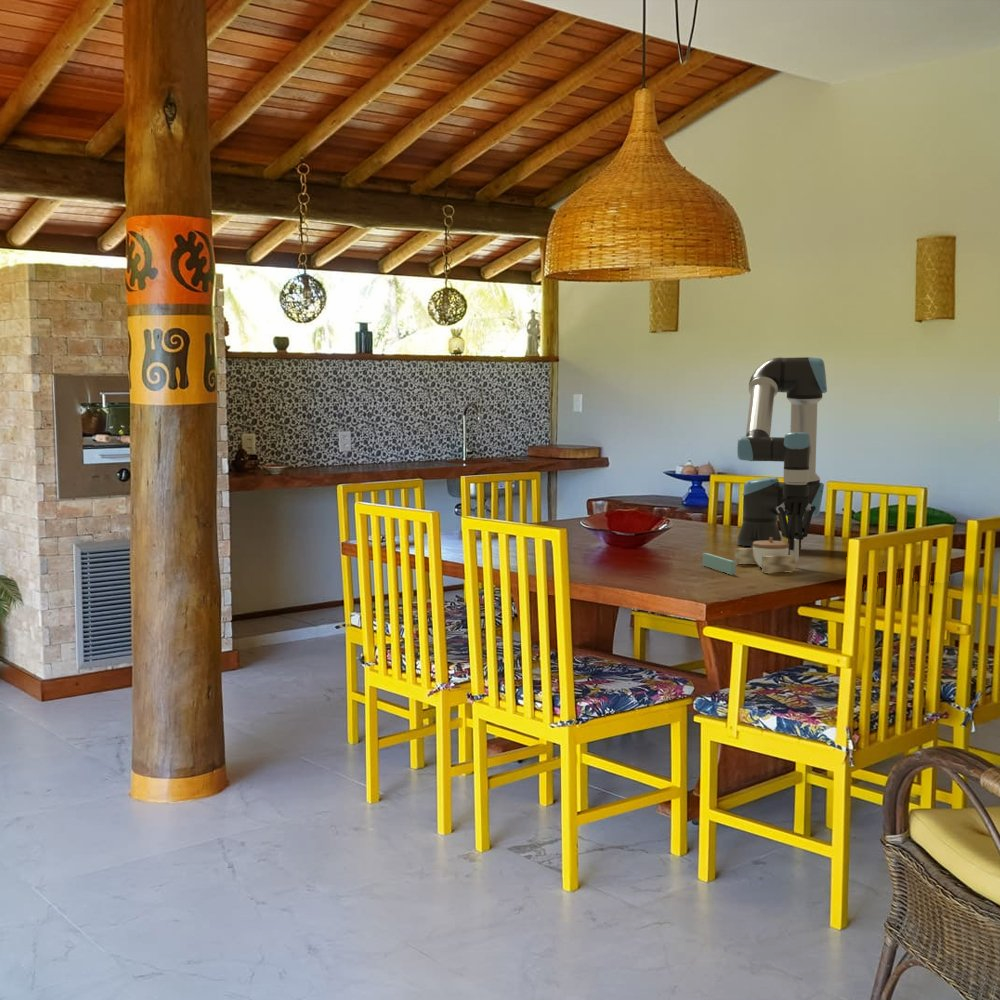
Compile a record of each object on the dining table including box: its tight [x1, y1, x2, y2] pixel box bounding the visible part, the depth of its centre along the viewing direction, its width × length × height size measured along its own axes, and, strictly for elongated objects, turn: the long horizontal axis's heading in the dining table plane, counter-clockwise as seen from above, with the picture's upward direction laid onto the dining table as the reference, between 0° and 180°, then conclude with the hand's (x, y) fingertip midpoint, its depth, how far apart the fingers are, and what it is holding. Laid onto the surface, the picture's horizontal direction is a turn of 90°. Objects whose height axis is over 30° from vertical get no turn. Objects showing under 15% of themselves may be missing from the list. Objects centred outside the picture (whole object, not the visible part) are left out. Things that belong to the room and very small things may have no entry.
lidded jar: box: [752, 537, 790, 569], centre depth 352 cm, size 11×11×9 cm
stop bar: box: [701, 552, 736, 576], centre depth 348 cm, size 2×18×4 cm, turn 17°
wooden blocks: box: [734, 547, 796, 574], centre depth 352 cm, size 10×18×5 cm, turn 17°
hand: (794, 560), depth 355 cm, fingers closed
